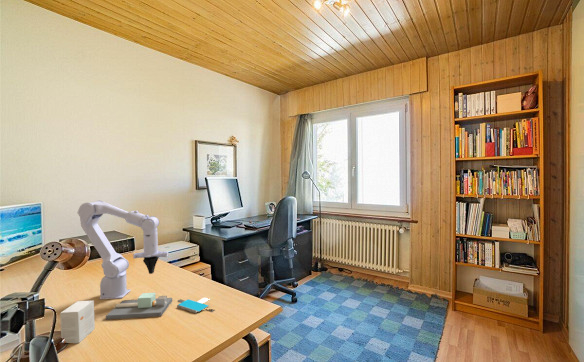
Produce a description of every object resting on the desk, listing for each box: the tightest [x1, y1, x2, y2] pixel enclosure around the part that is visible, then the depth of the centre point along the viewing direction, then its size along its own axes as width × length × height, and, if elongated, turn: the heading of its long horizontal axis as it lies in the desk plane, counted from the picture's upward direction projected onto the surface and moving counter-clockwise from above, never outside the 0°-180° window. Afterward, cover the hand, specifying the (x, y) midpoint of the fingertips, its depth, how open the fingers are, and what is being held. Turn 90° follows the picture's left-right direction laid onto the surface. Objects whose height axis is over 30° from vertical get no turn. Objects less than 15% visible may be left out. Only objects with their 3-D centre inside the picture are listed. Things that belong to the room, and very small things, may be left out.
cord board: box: [105, 297, 173, 320], centre depth 106 cm, size 20×12×2 cm, turn 96°
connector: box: [156, 295, 168, 307], centre depth 107 cm, size 3×3×3 cm
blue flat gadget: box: [176, 297, 214, 314], centre depth 110 cm, size 20×12×2 cm, turn 63°
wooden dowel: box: [114, 301, 166, 308], centre depth 106 cm, size 19×2×2 cm, turn 96°
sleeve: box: [137, 292, 157, 308], centre depth 106 cm, size 5×4×4 cm
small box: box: [59, 300, 96, 344], centre depth 89 cm, size 8×6×10 cm
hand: (151, 272), depth 121 cm, fingers closed
